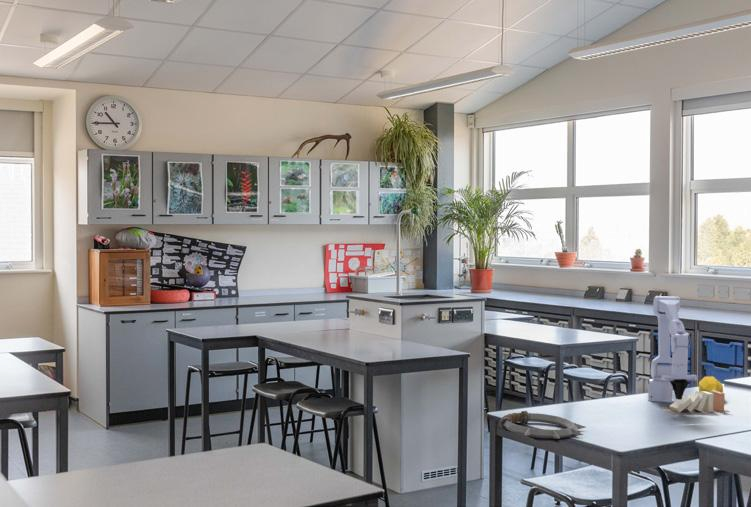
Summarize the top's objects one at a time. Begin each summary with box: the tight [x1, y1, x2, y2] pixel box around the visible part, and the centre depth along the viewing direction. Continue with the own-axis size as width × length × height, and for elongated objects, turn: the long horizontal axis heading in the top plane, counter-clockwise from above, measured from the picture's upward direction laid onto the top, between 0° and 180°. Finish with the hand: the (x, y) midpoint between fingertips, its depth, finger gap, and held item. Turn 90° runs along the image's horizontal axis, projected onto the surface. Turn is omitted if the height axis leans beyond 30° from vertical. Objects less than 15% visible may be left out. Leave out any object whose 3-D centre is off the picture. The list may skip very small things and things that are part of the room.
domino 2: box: [683, 392, 701, 412], centre depth 329 cm, size 2×5×7 cm
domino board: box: [660, 408, 731, 415], centre depth 329 cm, size 26×8×1 cm, turn 104°
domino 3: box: [694, 390, 708, 412], centre depth 329 cm, size 2×5×7 cm, turn 14°
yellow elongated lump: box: [698, 376, 724, 393], centre depth 357 cm, size 10×30×10 cm, turn 165°
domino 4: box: [701, 391, 713, 412], centre depth 330 cm, size 2×5×7 cm, turn 14°
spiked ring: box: [498, 410, 587, 440], centre depth 291 cm, size 33×5×30 cm
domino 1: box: [669, 395, 692, 413], centre depth 328 cm, size 2×5×7 cm
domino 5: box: [712, 391, 726, 411], centre depth 332 cm, size 2×5×7 cm, turn 15°
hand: (678, 398), depth 327 cm, fingers closed
